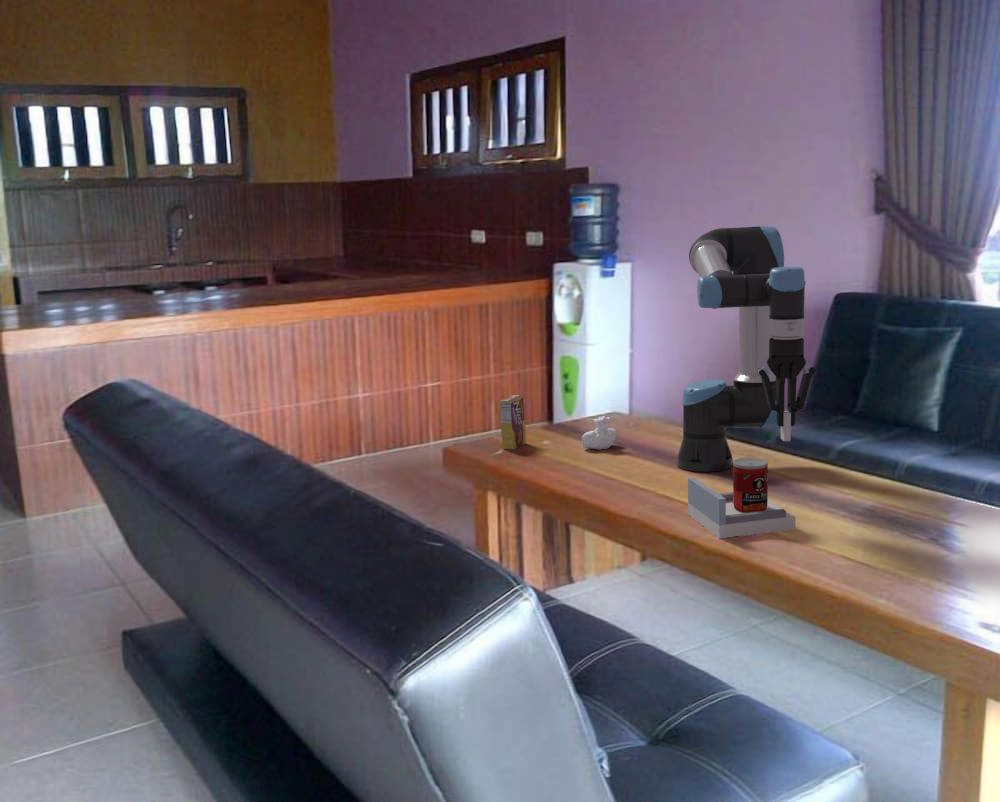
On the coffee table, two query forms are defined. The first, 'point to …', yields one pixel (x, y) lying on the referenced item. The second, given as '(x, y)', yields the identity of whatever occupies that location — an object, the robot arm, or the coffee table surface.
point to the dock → (733, 514)
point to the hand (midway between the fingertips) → (785, 439)
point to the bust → (600, 435)
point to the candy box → (512, 422)
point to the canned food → (750, 485)
